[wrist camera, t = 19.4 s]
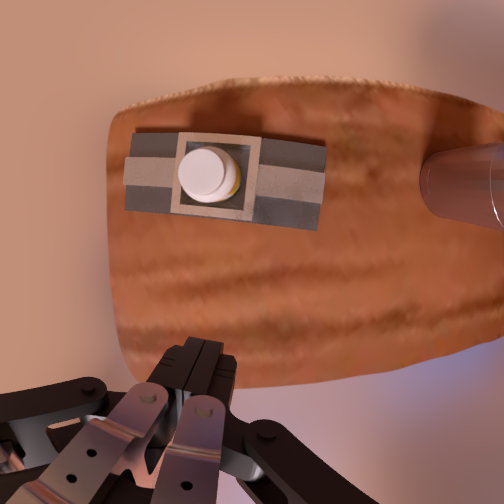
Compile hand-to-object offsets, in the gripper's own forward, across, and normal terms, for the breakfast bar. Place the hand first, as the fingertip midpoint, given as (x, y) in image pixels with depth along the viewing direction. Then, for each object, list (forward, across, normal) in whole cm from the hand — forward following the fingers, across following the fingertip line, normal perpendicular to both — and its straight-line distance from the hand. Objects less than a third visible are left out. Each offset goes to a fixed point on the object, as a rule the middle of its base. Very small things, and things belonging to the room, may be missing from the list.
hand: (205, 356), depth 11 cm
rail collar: (+23, +4, -8) cm, 25 cm away
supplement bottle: (+23, +4, -8) cm, 24 cm away
